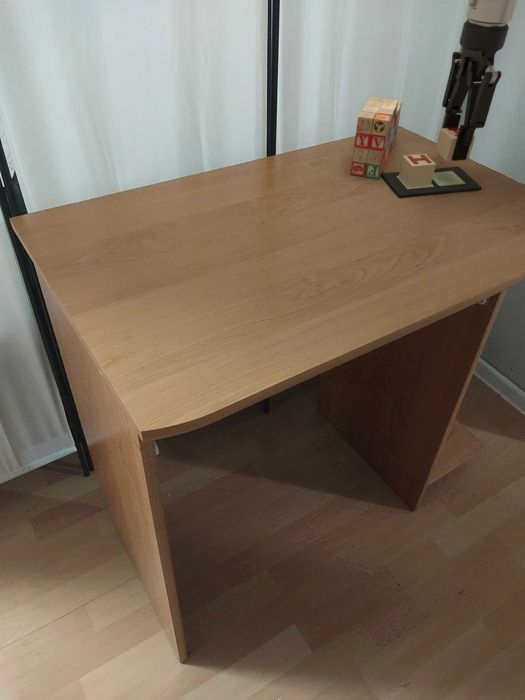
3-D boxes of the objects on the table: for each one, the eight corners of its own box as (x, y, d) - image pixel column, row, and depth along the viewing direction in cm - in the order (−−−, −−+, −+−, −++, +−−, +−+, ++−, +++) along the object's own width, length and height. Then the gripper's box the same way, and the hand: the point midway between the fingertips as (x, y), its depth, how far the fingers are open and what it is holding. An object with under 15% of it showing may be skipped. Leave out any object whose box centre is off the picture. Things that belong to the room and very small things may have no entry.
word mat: (481, 190, 109) (482, 186, 109) (398, 198, 107) (399, 194, 106) (458, 168, 117) (458, 165, 116) (380, 175, 114) (380, 172, 113)
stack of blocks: (369, 137, 128) (378, 82, 120) (395, 141, 127) (406, 86, 119) (349, 174, 114) (357, 115, 105) (379, 179, 112) (389, 119, 104)
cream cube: (431, 185, 109) (436, 163, 106) (408, 187, 108) (412, 165, 105) (420, 174, 113) (425, 152, 110) (398, 176, 112) (402, 154, 109)
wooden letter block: (468, 159, 107) (475, 135, 104) (445, 161, 106) (452, 137, 103) (457, 148, 110) (463, 125, 107) (434, 150, 110) (440, 127, 106)
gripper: (443, 10, 98) (416, 137, 114) (494, 36, 85) (455, 174, 101) (480, 9, 99) (448, 134, 115) (536, 34, 86) (491, 171, 102)
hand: (452, 153), depth 108 cm, fingers closed on wooden letter block, 5 cm apart
